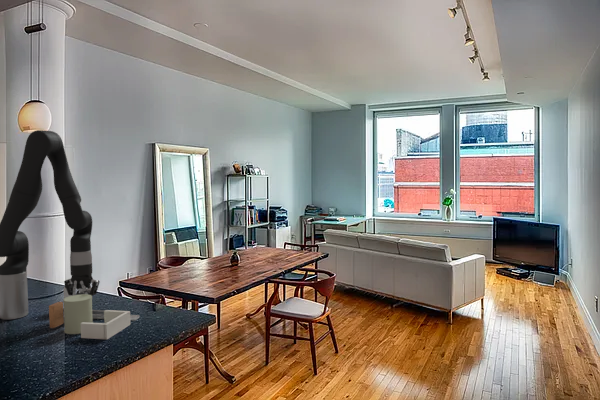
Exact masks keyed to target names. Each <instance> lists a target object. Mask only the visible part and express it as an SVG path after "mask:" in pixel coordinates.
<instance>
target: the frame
mask: <svg viewBox="0 0 600 400" xmlns="http://www.w3.org/2000/svg"><path fill="white" fill-rule="evenodd" d="M130 315H131V311H130V310H115V309H114V310H112V309H110V310H109V309H105V311H104V319H103V320H104V322H93V323H88V322H82V323H81V333H80V338H81V339H92V340H93V339H95V340H109V339H110V338H112V337H113V336H115V335H117V334H118V333H120V332H121V331H123V330H124V329H126V328H127V327H129V326H130V325H131V320H130Z"/></svg>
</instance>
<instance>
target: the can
mask: <svg viewBox="0 0 600 400" xmlns="http://www.w3.org/2000/svg"><path fill="white" fill-rule="evenodd" d="M62 302H63V317H64V323H63V324H64V330H63V332H64V333H65V334H67V335H79V334H80V335H81V323H82V322H88V323H94V321H93V320H94V319H92V310H93V296H91V295H88V294H81V295H73V296H69V297H66V298H64V297H63V299H62Z"/></svg>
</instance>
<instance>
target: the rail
mask: <svg viewBox="0 0 600 400" xmlns="http://www.w3.org/2000/svg"><path fill="white" fill-rule="evenodd" d="M92 319H93V320H95V319H97V320H104V315H100V314H92ZM138 319H140V314H130V321H132V322H135V321H137V320H138Z"/></svg>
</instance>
